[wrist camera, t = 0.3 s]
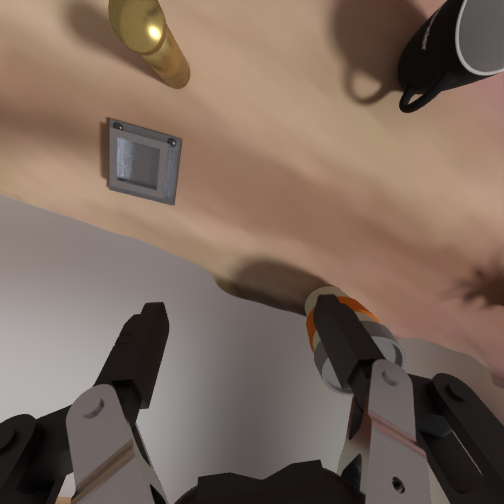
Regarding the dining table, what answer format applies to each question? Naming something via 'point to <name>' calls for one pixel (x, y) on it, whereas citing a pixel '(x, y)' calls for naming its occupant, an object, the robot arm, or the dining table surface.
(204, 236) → the dining table surface
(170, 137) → the square tray with knobs
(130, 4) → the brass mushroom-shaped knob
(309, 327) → the reusable coffee cup
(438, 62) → the mug
